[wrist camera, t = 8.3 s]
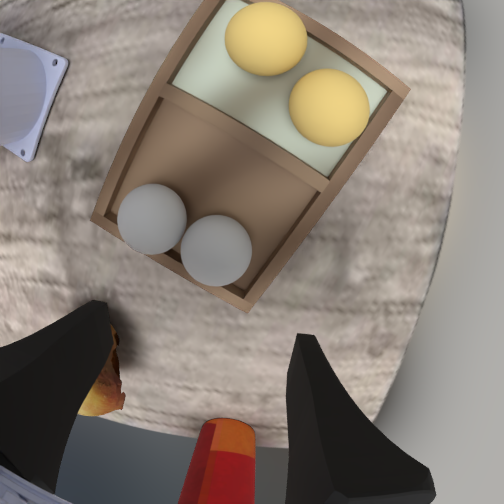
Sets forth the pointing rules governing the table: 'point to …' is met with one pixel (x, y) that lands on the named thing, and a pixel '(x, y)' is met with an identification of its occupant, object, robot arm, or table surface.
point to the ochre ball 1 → (266, 39)
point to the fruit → (105, 387)
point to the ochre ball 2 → (329, 107)
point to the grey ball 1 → (152, 219)
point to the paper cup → (221, 465)
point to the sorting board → (242, 144)
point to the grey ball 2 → (216, 250)
